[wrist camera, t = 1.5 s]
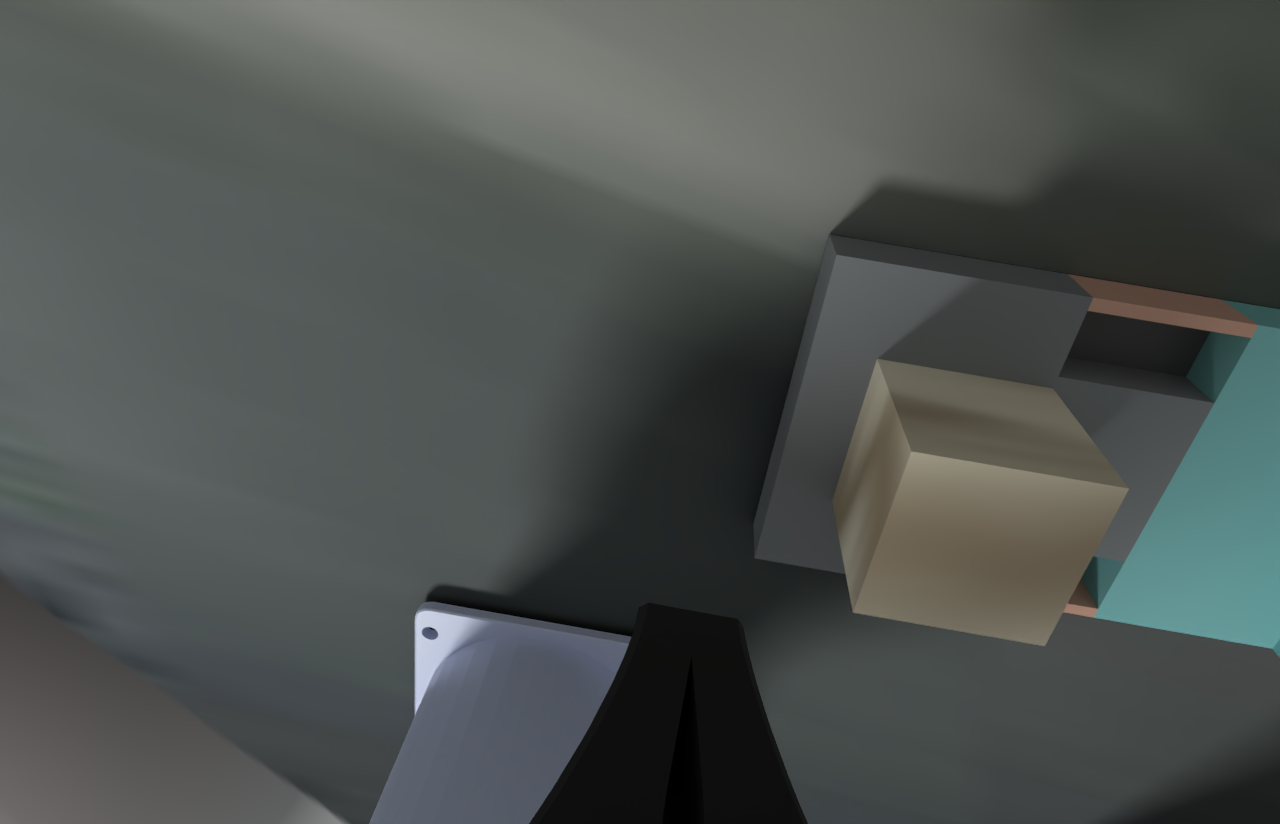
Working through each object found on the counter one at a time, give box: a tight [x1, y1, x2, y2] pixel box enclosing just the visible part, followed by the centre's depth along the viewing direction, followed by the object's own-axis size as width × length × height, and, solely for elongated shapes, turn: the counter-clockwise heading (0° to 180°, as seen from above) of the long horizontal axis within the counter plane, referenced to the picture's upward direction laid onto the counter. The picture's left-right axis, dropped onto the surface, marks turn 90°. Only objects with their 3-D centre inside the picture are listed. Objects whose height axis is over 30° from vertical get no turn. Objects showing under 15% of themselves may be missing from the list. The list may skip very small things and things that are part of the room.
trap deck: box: [753, 235, 1280, 657], centre depth 19 cm, size 14×8×4 cm, turn 82°
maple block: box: [832, 359, 1129, 646], centre depth 17 cm, size 4×4×4 cm
